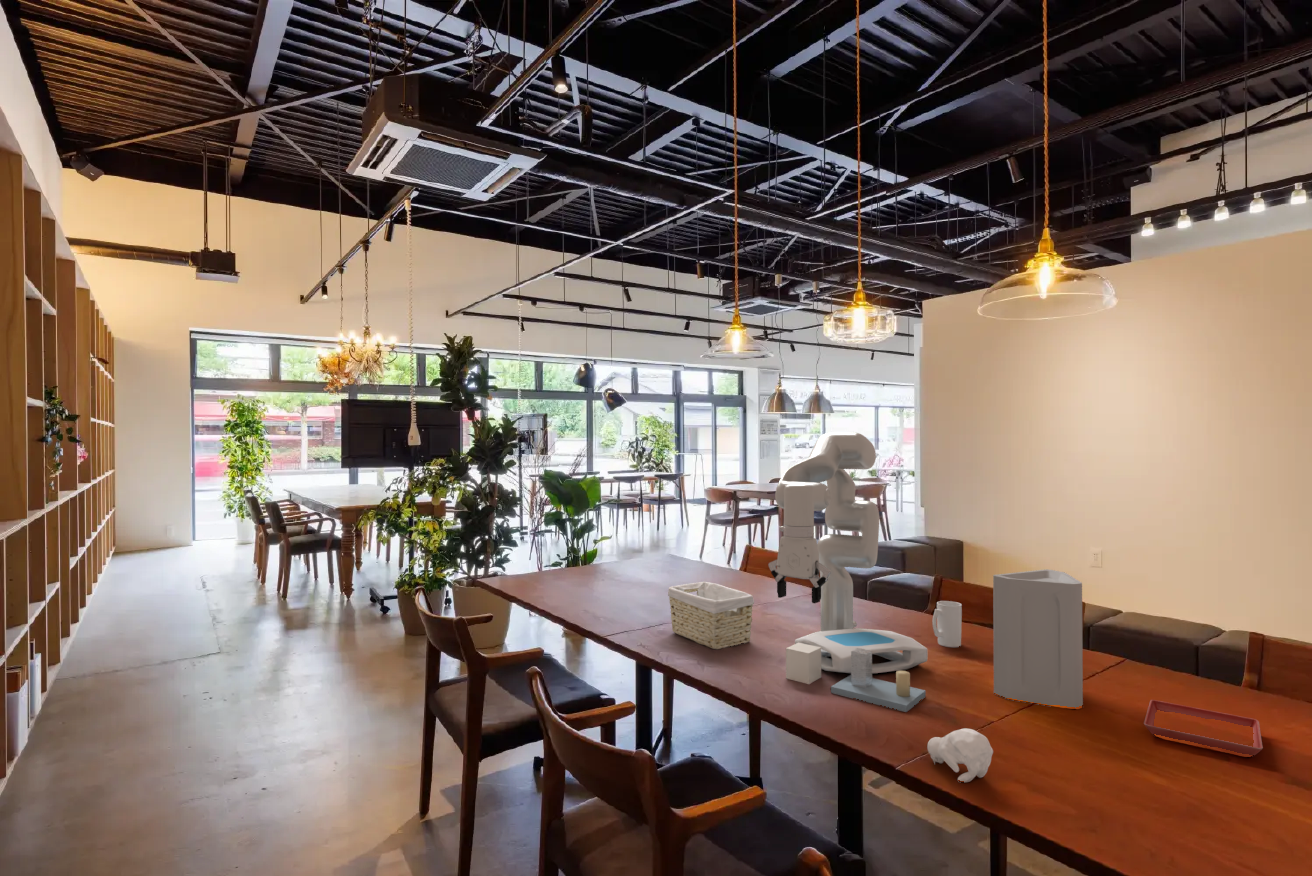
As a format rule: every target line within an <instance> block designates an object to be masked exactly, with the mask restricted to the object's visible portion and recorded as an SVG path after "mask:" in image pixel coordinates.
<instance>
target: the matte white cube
mask: <svg viewBox="0 0 1312 876" xmlns="http://www.w3.org/2000/svg"><path fill="white" fill-rule="evenodd" d="M785 678H786V680H791V681H795V682H798V683H803V684H807V685H810V684H812V683H813V682H815V681H817V680H819V679H821V678H822V669H821V647H817V646H812V645H807V644H803V643H797V644H795V643H794V644H792V645H790V646H788V647H786V648H785Z"/></svg>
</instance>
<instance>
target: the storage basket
mask: <svg viewBox="0 0 1312 876" xmlns="http://www.w3.org/2000/svg"><path fill="white" fill-rule="evenodd" d="M695 592H696V594H692V593H695ZM667 597H668V600H669V605H670V606H669V607H670V608H669V609H670V620H671V627H672V629H671V630H672V632H673V633H674V634H677V635H678V636H681V637H684V638H686V639H690V640H691V641H694V642H695V643H697V644H699V645H703V646H706V647H707V648H710V649H713V650H721V649H724V648H731V647H734V645H735V646H739V645H742V644H741V643H744V644H747V643H749V642H750V641H751V633H752V632H751V630H752V622H753V617H752V616H753V605H755V600H754V597H753V595H752V594H750V593H748V592H745V591H741V590H739V589H736V588H731V587H727V586H724V585H722V584H719V583H715V582H707V581H700V582H699V581H698V582H692V583H685V584H679V585H673V586H670V587H668V590H667ZM738 644H739V645H738ZM730 646H731V647H730Z"/></svg>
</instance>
